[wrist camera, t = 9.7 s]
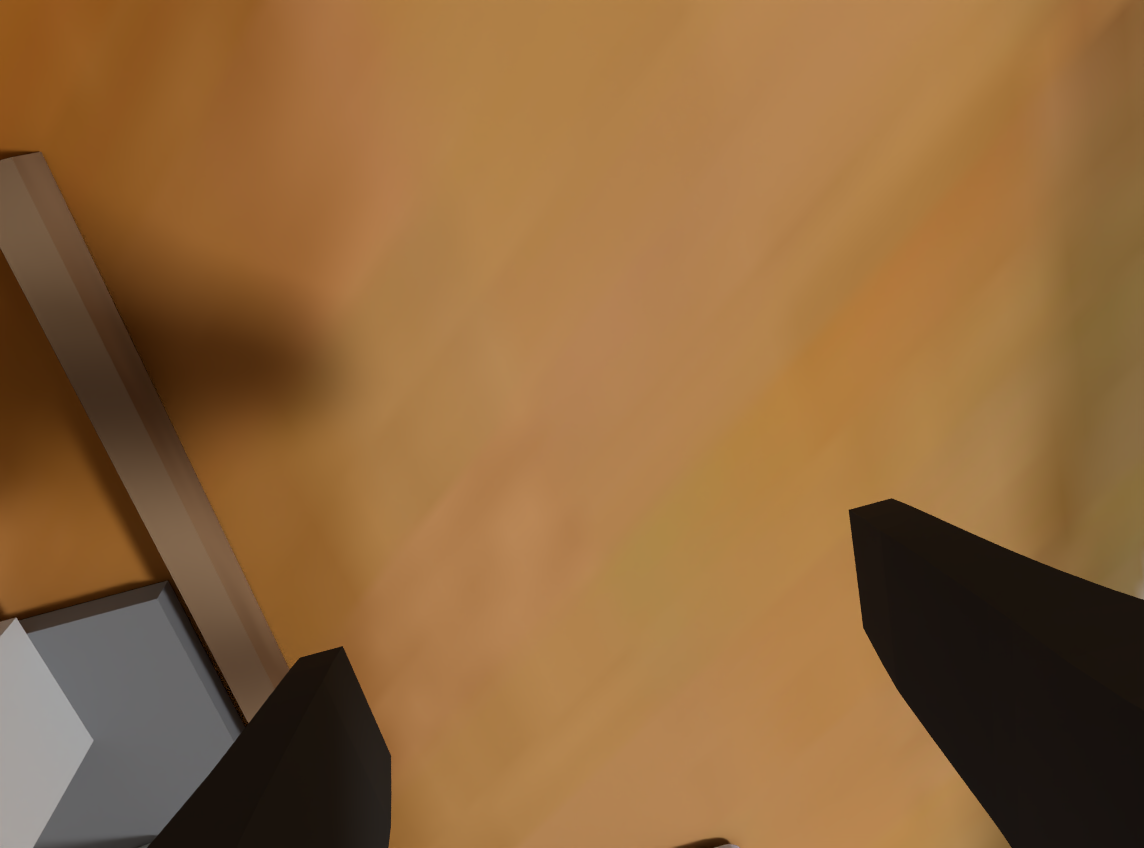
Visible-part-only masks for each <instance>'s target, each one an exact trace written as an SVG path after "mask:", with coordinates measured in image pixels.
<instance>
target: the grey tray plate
mask: <svg viewBox="0 0 1144 848" xmlns="http://www.w3.org/2000/svg"><path fill="white" fill-rule="evenodd" d="M244 729H245V726H244V724H243V722H242V720H241V718H240V716H239V715H238V713H237V711H236V709H235V707H234V705H233V703H232V701H231V699H230V697H229V696H228V694H227V692H226V690H225V688H224V686H223V684H222V682H221V680H220V678H219V676H218V675H217V673H216V671H215V669H214V667H213V665H212V663H211V661H210V659H209V657H208V656H207V654H206V652H205V650H204V648H203V646H202V644H201V642H200V640H199V638H198V637H197V635H196V633H195V631H194V629H193V627H192V625H191V623H190V621H189V619H188V617H187V616H186V614H185V612H184V610H183V608H182V606H181V604H180V602H179V600H178V598H177V597H176V595H175V593H174V591H173V589H172V587H171V585H170V583H169V581H164V582H161V583H157V584H153V585H149V586H146V587H142V588H138V589H134V590H131V591H127V592H123V593H120V594H116V595H112V596H108V597H105V598H101V599H97V600H93V601H90V602H86V603H82V604H79V605H75V606H71V607H67V608H64V609H60V610H56V611H53V612H49V613H45V614H41V615H38V616H34V617H30V618H26V619H23V620H19V621H18V619H17V618H12V619H9V620H5V621H1V622H0V848H139V847H141V846H144V845H147V844H149V843H151V842H152V841H153V840H154V839H155V838H156V837H157V836H158V834H159V833H160V832H161V831H162V830H163V828H164V827H165V826H166V825H167V824H168V823H169V821H170V820H171V819H172V818H173V817H174V815H175V814H176V813H177V812H178V811H179V809H180V808H181V807H182V806H183V805H184V803H185V802H186V801H187V800H188V799H189V798H190V796H191V795H192V794H193V793H194V792H195V790H196V789H197V788H198V787H199V786H200V784H201V783H202V782H203V781H204V780H205V779H206V777H207V776H208V775H209V774H210V772H211V771H212V770H213V769H214V767H215V766H216V765H217V764H218V762H219V761H220V760H221V758H222V757H223V756H224V755H225V753H226V752H227V751H228V749H229V748H230V747H231V745H232V744H233V743H234V742H235V740H236V739H237V738H238V736H239V735H240V734H241V733H242V731H243V730H244Z"/></svg>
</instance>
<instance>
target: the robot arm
mask: <svg viewBox="0 0 1144 848" xmlns="http://www.w3.org/2000/svg"><path fill="white" fill-rule="evenodd" d="M849 516H850V524H851V532H852V540H853V548H854V556H855V564H856V572H857V580H858V588H859V596H860V605H861V613H862V621H863V628H864V630H865V632H866V634H867V636H868V638H869V639H870V641H871V643H872V645H873V647H874V649H875V651H876V652H877V654H878V656H879V658H880V660H881V662H882V664H883V665H884V667H885V669H886V671H887V672H888V674H889V676H890V678H891V679H892V681H893V683H894V685H895V686H896V688H897V690H898V691H899V693H900V694H901V695H902V697H903V698H904V700H905V701H906V703H907V704H908V705H909V707H910V708H911V709H912V711H913V712H914V714H915V715H916V716H917V718H918V719H919V720H920V722H921V723H922V725H923V726H924V727H925V729H926V730H927V732H928V733H929V734H930V736H931V737H932V738H933V740H934V741H935V742H936V744H937V745H938V747H939V748H940V749H941V751H942V752H943V753H944V755H945V756H946V757H947V759H948V760H949V761H950V763H951V764H952V766H953V767H954V768H955V770H956V771H957V772H958V774H959V775H960V776H961V778H962V779H963V780H964V782H965V783H966V785H967V786H968V787H969V789H970V790H971V791H972V793H973V794H974V795H975V797H976V798H977V799H978V801H979V802H980V804H981V805H982V806H983V808H984V809H985V810H986V812H987V813H988V814H989V816H990V817H991V818H992V820H993V821H994V823H995V824H996V825H997V827H998V828H999V830H1000V831H1001V832H1002V834H1003V835H1004V837H1005V838H1006V840H1007V841H1008V843H1009V844H1010V846H1011V847H1012V848H1144V600H1143V599H1139V598H1136V597H1133V596H1130V595H1127V594H1124V593H1121V592H1118V591H1115V590H1112V589H1109V588H1106V587H1104V586H1101V585H1098V584H1096V583H1093V582H1090V581H1087V580H1085V579H1082V578H1079V577H1076V576H1074V575H1071V574H1068V573H1066V572H1063V571H1060V570H1058V569H1055V568H1052V567H1050V566H1047V565H1045V564H1042V563H1040V562H1037V561H1035V560H1032V559H1030V558H1028V557H1025V556H1023V555H1020V554H1018V553H1015V552H1013V551H1011V550H1008V549H1006V548H1004V547H1001V546H999V545H997V544H994V543H992V542H990V541H988V540H985V539H983V538H981V537H978V536H976V535H974V534H972V533H969V532H967V531H965V530H963V529H961V528H958V527H956V526H954V525H952V524H950V523H947V522H945V521H943V520H941V519H938V518H936V517H934V516H932V515H930V514H927V513H925V512H923V511H921V510H918V509H916V508H914V507H912V506H909V505H907V504H905V503H902V502H900V501H897V500H894V499H892V498H891V499H888V500H884V501H880V502H877V503H873V504H869V505H865V506H862V507H858V508H854V509H851V510H849ZM390 829H391V755H390V752H389V750H388V748H387V746H386V743H385V741H384V739H383V737H382V734H381V732H380V730H379V727H378V725H377V723H376V721H375V718H374V716H373V714H372V712H371V709H370V707H369V705H368V703H367V700H366V698H365V696H364V693H363V691H362V689H361V687H360V684H359V682H358V680H357V678H356V675H355V673H354V671H353V668H352V666H351V664H350V662H349V659H348V657H347V655H346V653H345V650H344V648H343V646H342V647H338V648H334V649H331V650H327V651H323V652H320V653H316V654H312V655H308V656H305V657H301V658H299V660H298V661H297V662H296V663H295V664H294V665H293V667H292V668H291V669H290V670H289V671H288V673H287V674H286V675H285V676H284V678H283V679H282V680H281V682H280V683H279V684H278V685H277V687H276V688H275V689H274V691H273V692H272V693H271V695H270V696H269V697H268V698H267V700H266V701H265V702H264V704H263V705H262V706H261V708H260V709H259V710H258V712H257V713H256V714H255V716H254V717H253V718H252V720H251V721H250V722H249V724H248V725H247V726H246V727H245V729H244V730H243V731H242V733H241V734H240V735H239V736H238V738H237V739H236V740H235V742H234V743H233V744H232V745H231V747H230V748H229V749H228V751H227V752H226V753H225V755H224V756H223V757H222V758H221V760H220V761H219V762H218V764H217V765H216V766H215V767H214V769H213V770H212V771H211V772H210V774H209V775H208V776H207V777H206V779H205V780H204V781H203V782H202V783H201V784H200V786H199V787H198V788H197V789H196V790H195V792H194V793H193V794H192V795H191V796H190V798H189V799H188V800H187V801H186V802H185V803H184V805H183V806H182V807H181V808H180V809H179V811H178V812H177V813H176V814H175V815H174V817H173V818H172V819H171V820H170V821H169V823H168V824H167V825H166V826H165V827H164V828H163V830H162V831H161V832H160V833H159V834H158V836H157V837H156V838H155V839H154V840H153V841H152V842H151V844H150V845H149V846H148V847H147V848H388V846H389V837H390ZM714 848H740V847H738V846H737V845H732V844H726V845H721V846H718V847H714Z"/></svg>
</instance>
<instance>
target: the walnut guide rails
mask: <svg viewBox="0 0 1144 848" xmlns="http://www.w3.org/2000/svg"><path fill="white" fill-rule="evenodd" d="M0 248H1V250H2V252H3V254H4V256H5V258H6V260H7V262H8V263H9V265H10V267H11V269H12V271H13V273H14V275H15V277H16V279H17V281H18V283H19V285H20V286H21V288H22V290H23V292H24V294H25V296H26V298H27V300H28V302H29V304H30V306H31V308H32V309H33V311H34V313H35V315H36V317H37V319H38V321H39V323H40V325H41V327H42V329H43V331H44V332H45V334H46V336H47V338H48V340H49V342H50V344H51V346H52V348H53V350H54V352H55V354H56V355H57V357H58V359H59V361H60V363H61V365H62V367H63V369H64V371H65V373H66V375H67V377H68V378H69V380H70V382H71V384H72V386H73V388H74V390H75V392H76V394H77V396H78V398H79V400H80V401H81V403H82V405H83V407H84V409H85V411H86V413H87V415H88V417H89V419H90V421H91V423H92V424H93V426H94V428H95V430H96V432H97V434H98V436H99V438H100V440H101V442H102V444H103V446H104V447H105V449H106V451H107V453H108V455H109V457H110V459H111V461H112V463H113V465H114V467H115V469H116V470H117V472H118V474H119V476H120V478H121V480H122V482H123V484H124V486H125V488H126V490H127V492H128V493H129V495H130V497H131V499H132V501H133V503H134V505H135V507H136V509H137V511H138V513H139V515H140V516H141V518H142V520H143V522H144V524H145V526H146V528H147V530H148V532H149V534H150V536H151V538H152V539H153V541H154V543H155V545H156V547H157V549H158V551H159V553H160V555H161V557H162V559H163V561H164V562H165V564H166V566H167V568H168V570H169V572H170V574H171V576H172V578H173V580H174V582H175V584H176V585H177V587H178V589H179V591H180V593H181V595H182V597H183V599H184V601H185V603H186V605H187V606H188V608H189V610H190V612H191V614H192V616H193V618H194V620H195V622H196V624H197V626H198V628H199V629H200V631H201V633H202V635H203V637H204V639H205V641H206V643H207V645H208V647H209V649H210V651H211V652H212V654H213V656H214V658H215V660H216V662H217V664H218V666H219V668H220V670H221V672H222V674H223V675H224V677H225V679H226V681H227V683H228V685H229V687H230V689H231V691H232V693H233V695H234V697H235V698H236V700H237V702H238V704H239V706H240V708H241V710H242V712H243V714H244V716H245V718H246V720H247V721H248V723H249V722H250V721H251V720H252V718H253V717H254V716H255V714H256V713H257V712H258V710H259V709H260V708H261V706H262V705H263V704H264V702H265V701H266V700H267V698H268V697H269V696H270V695H271V693H272V692H273V691H274V689H275V688H276V687H277V685H278V684H279V683H280V682H281V680H282V679H283V678H284V676H285V675H286V674H287V673H288V671H289V668H288V666H287V663H286V661H285V659H284V657H283V655H282V653H281V651H280V649H279V647H278V645H277V643H276V641H275V638H274V636H273V634H272V632H271V630H270V628H269V626H268V624H267V622H266V620H265V618H264V615H263V613H262V611H261V609H260V607H259V605H258V603H257V601H256V599H255V597H254V595H253V593H252V590H251V588H250V586H249V584H248V582H247V580H246V578H245V576H244V574H243V572H242V570H241V568H240V565H239V563H238V561H237V559H236V557H235V555H234V553H233V551H232V549H231V547H230V545H229V542H228V540H227V538H226V536H225V534H224V532H223V530H222V528H221V526H220V524H219V522H218V520H217V517H216V515H215V513H214V511H213V509H212V507H211V505H210V503H209V501H208V499H207V497H206V495H205V492H204V490H203V488H202V486H201V484H200V482H199V480H198V478H197V476H196V474H195V472H194V469H193V467H192V465H191V463H190V461H189V459H188V457H187V455H186V453H185V451H184V449H183V447H182V444H181V442H180V440H179V438H178V436H177V434H176V432H175V430H174V428H173V426H172V424H171V422H170V419H169V417H168V415H167V413H166V411H165V409H164V407H163V405H162V403H161V401H160V399H159V396H158V394H157V392H156V390H155V388H154V386H153V384H152V382H151V380H150V378H149V376H148V374H147V371H146V369H145V367H144V365H143V363H142V361H141V359H140V357H139V355H138V353H137V351H136V349H135V346H134V344H133V342H132V340H131V338H130V336H129V334H128V332H127V330H126V328H125V326H124V323H123V321H122V319H121V317H120V315H119V313H118V311H117V309H116V307H115V305H114V303H113V301H112V298H111V296H110V294H109V292H108V290H107V288H106V286H105V284H104V282H103V280H102V278H101V276H100V273H99V271H98V269H97V267H96V265H95V263H94V261H93V259H92V257H91V255H90V253H89V250H88V248H87V246H86V244H85V242H84V240H83V238H82V236H81V234H80V232H79V230H78V228H77V225H76V223H75V221H74V219H73V217H72V215H71V213H70V211H69V209H68V207H67V205H66V203H65V200H64V198H63V196H62V194H61V192H60V190H59V188H58V186H57V184H56V182H55V180H54V177H53V175H52V173H51V171H50V169H49V167H48V165H47V163H46V161H45V159H44V157H43V155H42V152H37V153H31V154H26V155H21V156H15V157H10V158H7V159H3V160H0Z"/></svg>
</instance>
